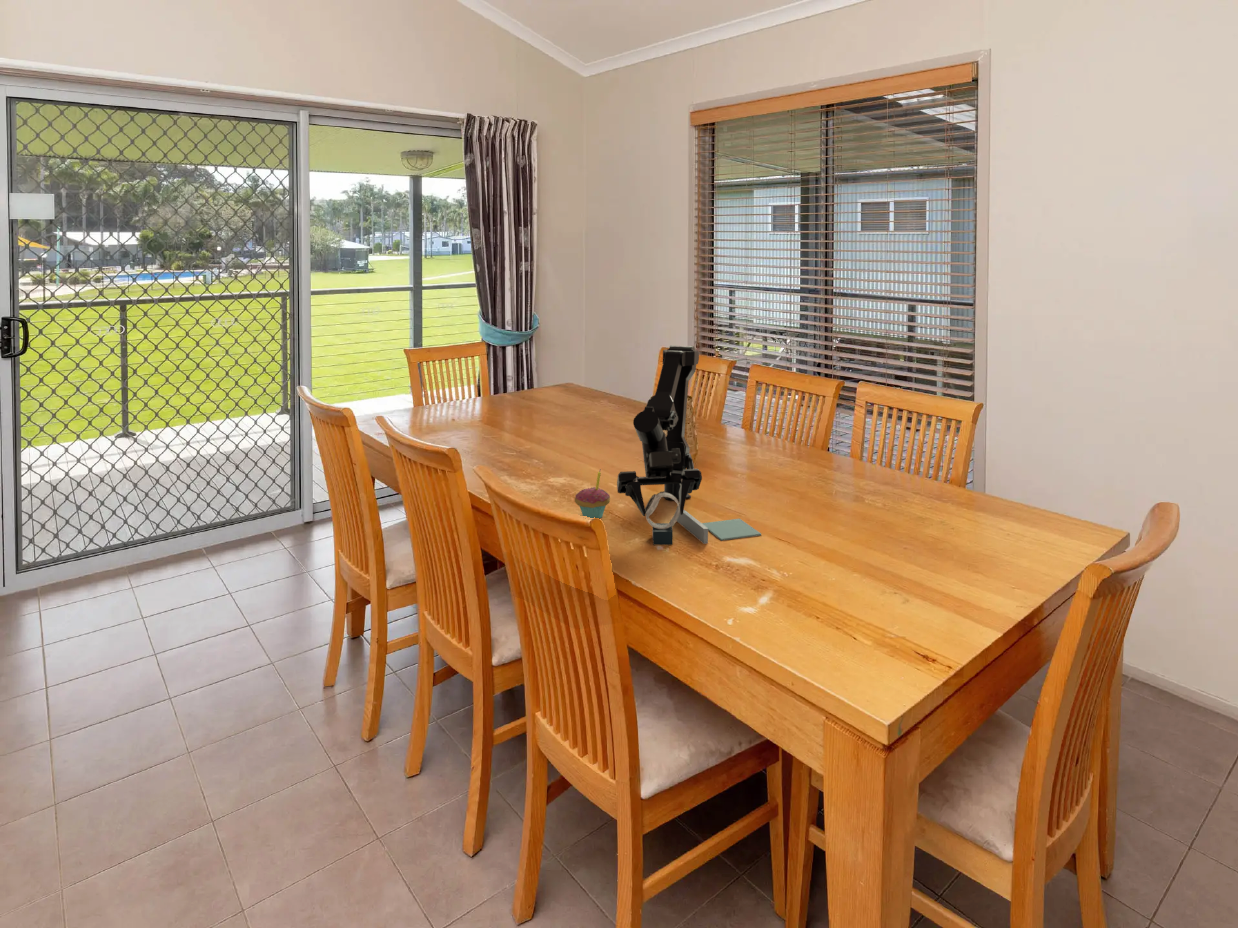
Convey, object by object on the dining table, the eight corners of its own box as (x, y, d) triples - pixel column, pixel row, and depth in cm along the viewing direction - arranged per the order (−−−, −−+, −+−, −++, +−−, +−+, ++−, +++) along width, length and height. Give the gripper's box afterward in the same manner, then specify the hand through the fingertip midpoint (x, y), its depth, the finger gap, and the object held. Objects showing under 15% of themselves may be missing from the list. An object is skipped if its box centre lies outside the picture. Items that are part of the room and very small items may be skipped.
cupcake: (609, 510, 206) (609, 464, 203) (610, 521, 198) (610, 473, 195) (575, 511, 206) (574, 464, 203) (574, 522, 198) (573, 474, 195)
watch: (643, 536, 189) (643, 490, 186) (679, 536, 189) (679, 490, 186) (644, 545, 183) (644, 497, 180) (680, 545, 183) (681, 497, 180)
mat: (701, 524, 196) (701, 523, 196) (739, 520, 199) (739, 518, 199) (721, 540, 186) (721, 538, 185) (761, 535, 189) (761, 533, 188)
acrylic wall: (676, 520, 198) (676, 507, 197) (680, 520, 199) (680, 506, 198) (703, 543, 184) (704, 528, 183) (707, 543, 184) (708, 528, 183)
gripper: (617, 437, 182) (624, 500, 175) (701, 434, 184) (710, 496, 177) (614, 461, 192) (620, 522, 184) (693, 458, 194) (702, 518, 186)
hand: (663, 514), depth 183 cm, fingers closed on watch, 8 cm apart
